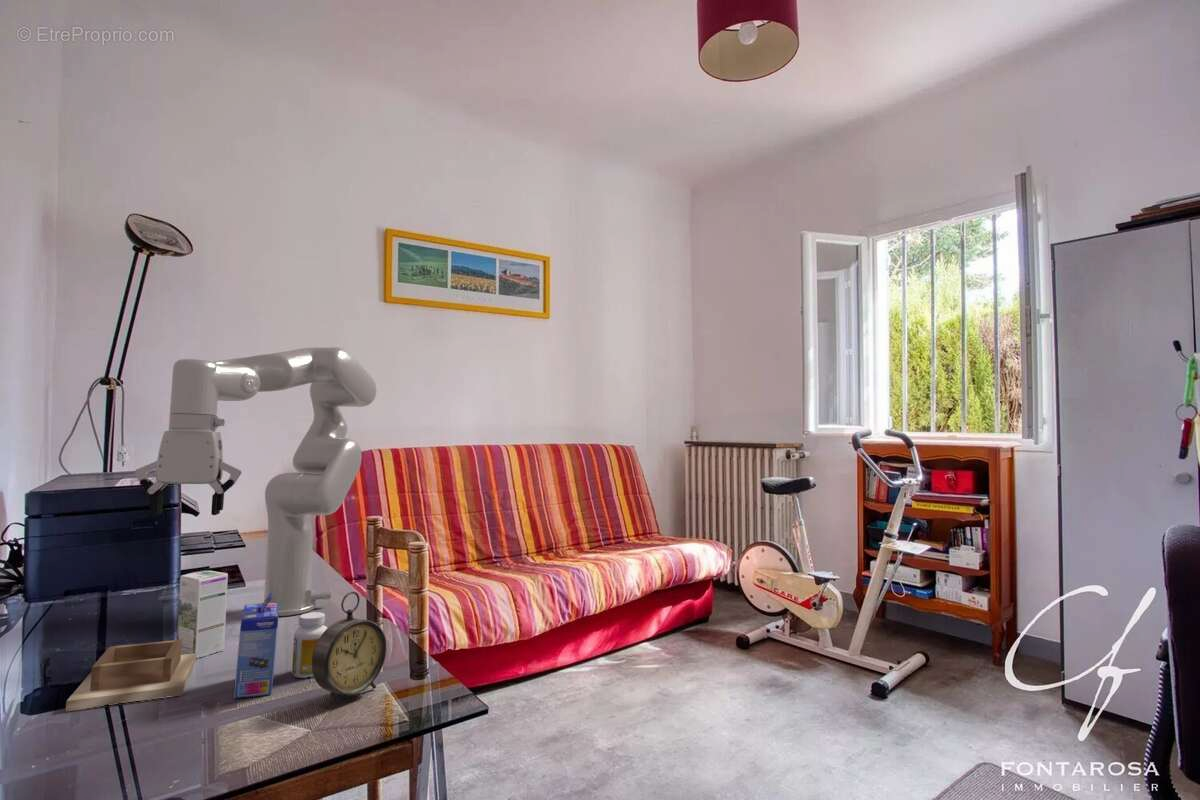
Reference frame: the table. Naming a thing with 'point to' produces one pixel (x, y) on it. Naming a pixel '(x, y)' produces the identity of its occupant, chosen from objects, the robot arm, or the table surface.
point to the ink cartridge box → (257, 649)
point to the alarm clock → (349, 655)
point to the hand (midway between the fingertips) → (186, 514)
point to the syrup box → (202, 612)
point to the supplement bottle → (306, 643)
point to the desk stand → (134, 675)
